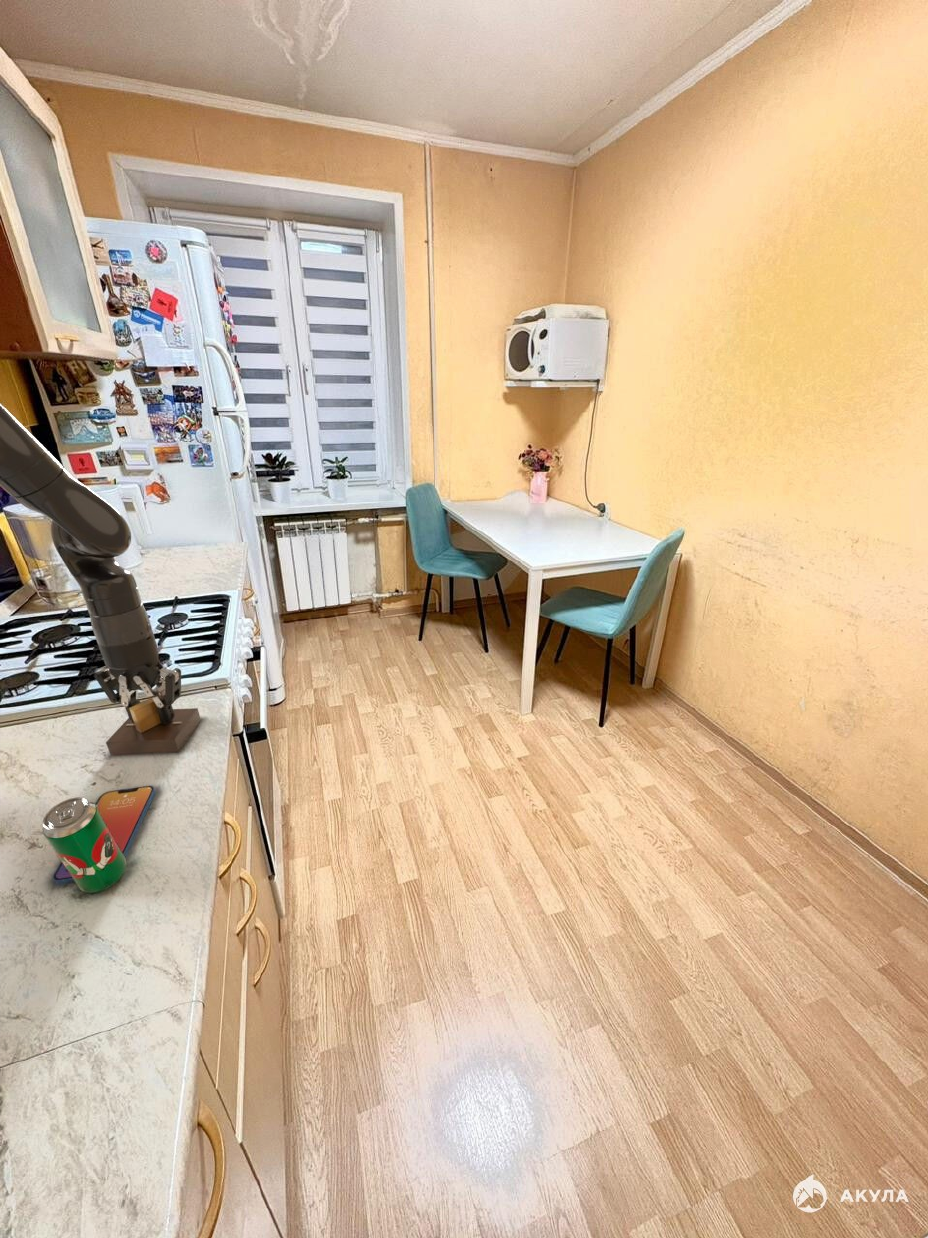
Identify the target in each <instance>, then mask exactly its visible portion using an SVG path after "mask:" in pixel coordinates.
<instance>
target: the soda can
mask: <svg viewBox="0 0 928 1238" xmlns="http://www.w3.org/2000/svg"><path fill="white" fill-rule="evenodd" d="M95 804H96V803H94V802H93V801H90V800H89V799H87V798H85V797H81V796H79V797H71V798H67V799H65V800H62V801H61V802H59V803H57V804H56V805H54V806H53V807H52V808H51V809H49V810H48V812H47V813H46V814H45V815H44V816H43V817H44V818H43V820H42V835H43V836H44V837H45V839H46V840H47V842H48V843H49V845H50V846H51V848H52V850H53V851H54V852H55V854H56V855H57V857H58V858H59V860H60V862H61V861H62V863H63V864H64V866H65V867H66V869H67V870H68V872H69V873H70V875H71V876H72V878H73V879H74V881H75V882H74V883H75V884H76V885H77V887H78V889H79V890H81V891H82V892H83V893H87V894H94V893H99V892H102V891H104V890H106V889H109V888H111V887H112V886H113V885H115V884H116V883H117V882H118V881H119V880H120V878H121V877H122V876H123V875H124V873H125V871H126V868H127V863H128V862H127V859H126V857H124V855H123V853H122V852H121V850H120V848H119V846H118V844H117V843H116V841H115V839H114V837H113V835H112V833H111V832H110V830H109V828H108V826H107V824H106V823H105V821H104V819H103V817H102V815H101V814H100V812H99V810H98V808H97V806H96V805H95Z"/></svg>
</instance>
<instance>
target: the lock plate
mask: <svg viewBox="0 0 928 1238" xmlns="http://www.w3.org/2000/svg"><path fill="white" fill-rule="evenodd" d="M173 711H174V718H173V719H172V721H171V722H170V723H169V724H168V725H162V724H161V723H160V724H158V725H156V726H154V727H152V728H150V729H148V730H146V731H144V732H143V733H141V732H139V731H137V730H136V727H135V724H133V723H132V721H131V720H130V719H129V717H128V718H127V719H126V720H125V721H124V722H123V723H122V724H121V725H120V726H119V727H118V729H117V730H116V731H115V732H114V733H113V734H112V735H111V736H110V737H109V738H108V740H107V741H105V744H106V747H107V749H108V752H109V755H110V756H127V755H128V756H129V755H130V756H131V755H149V754H151V755H153V754H171V753H172V754H173V753H180V752H181V750H182V748H183V747H184V745H185V744H186V743H187V741H188V740H189V738H190V737H191V735H192V734H193V732H194V731H195V730H196V728H197V727H198V726H199V724H200V723H201V721H202V719H201V715H200V712H199V708H198V707H191V708H173Z"/></svg>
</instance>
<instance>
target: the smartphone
mask: <svg viewBox="0 0 928 1238" xmlns="http://www.w3.org/2000/svg"><path fill="white" fill-rule="evenodd" d="M155 795H156V789H155V787H154V786H153V785H145V786H136V787H130V788H123V789H116V790H109V791H106V792H104V793H102V794H101V795H100V796H99V797H98V799H97V800H96V802H95V803H94V804H95V805H96V806H97V808H98V810H99V812H100V814H101V815H102V817H103V819H104V821H105V823H106V824H107V826H108V828H109V830H110V832H111V833H112V835H113V837H114V839H115V841H116V843H117V844H118V846H119V848H120V850H121V852H122V853H123V855H124V857H125V858H126V857H127V856H128V853H129V851H130V849H131V847H132V845H133V843H134V841H135V838H136V837H137V835H138V832H139V830H140V828H141V825H142V823H143V821H144V819H145V817H146V815H147V812H148V810H149V808H150V806H151V804H152V802H153V799H154V797H155ZM52 879H53V882H54V884H56V885H64V884H70V883H76V882H75V881H74V879H73V878H72V876H71V875H70V873H69V872H68V870H67V869H66V867H65V866H64V864H63V863H62V861H61V860H60V863H59V865H58V867H57V868H56V870H55V872H54V873H53V876H52Z"/></svg>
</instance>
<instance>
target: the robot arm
mask: <svg viewBox="0 0 928 1238" xmlns="http://www.w3.org/2000/svg"><path fill="white" fill-rule="evenodd" d="M0 487H1V488H2V489H3V490H4V491H5V492H7V494H9V495H10V496H11V497H12V498H13V499H15V500H16V501H17V502H18V503H19V504H20V505H22V506H23V507H25V508H27V509H29V510H30V511H33V512H36V513H39V514H42V515H43V516H46V517H47V518H49V520H51V522H50V535H51V540H52V543H53V546H54V548H55V551H57V554H58V555H59V557H60V558H61V560H62V562H63V563H64V565H65V567H66V568H67V570H68V571H69V572H70V574H71V576H72V577H73V579H74V580H75V581H76V583H77V584H78V586H79V588H80V590H81V594H82V597H83V600H84V603H85V606H86V608H87V611H88V614H89V618H90V624H91V625H90V626H91V629H92V631H93V634H94V637H95V639H96V643H97V645H98V648H99V651H100V654H101V656H102V659H103V662H104V665H105V666H104V667H102V668H101V669H99V670H98V671H97V672H95V673H94V674H93V677H94V679H95V680H96V681H97V684H98V685H99V687H100V688H101V690H103V692H104V694H105V695H106V697H107V698H108V700H109V702H111V703H112V704H117V703H119V704H121V706H123V707H124V708H125V711H126V713H127V716H128V718H129V719H130V720H131V721H132V723H133V724H134V721H133V718H132V715H131V712H130V709H129V708H131V707H133V706H135V705H137V704H139V703H141V701H140V699H138V697H139V691H142V692H143V693H144V695H146V697H147V698H148V699H150V698H152V700H153V701H154V703H155V704H156V705H157V711H158V715H159V718H160V721H161V724H162V725H168V724H169V723H170V722H171V721H172V719H173V718H174V711H173V709H174V708H173V704H174V703H175V702H176V701H177V700H178V699H180V698H181V696H182V670H181V669H180V668H178V667H175V668H174V669H170V668H169V669H168V668H165V667H164V665H163V664H162V663H161V661H160V659H159V651H160V650H159V647H158V643H157V640H156V638H155V637H156V636H155V634H154V630H153V627H152V624H151V620H150V618H149V617H150V616H149V615H148V612H147V610H146V608H145V606H144V604H143V601H142V598H141V595H140V590H139V587H138V585H137V580H136V578H135V577H134V575H133V573H132V572H131V571H130V570H128V569H127V568H125V567H124V566H122V565H120V564H119V563H118V562H117V561H116V558H117V557H119V556H122V555H123V554H125V553H126V552H127V551H128V550H129V548H130V546H131V544H132V532H131V528H130V526H129V524H128V522H127V520H126V519H125V518H124V516H123V515H122V514H121V513H120V512H119V511H118V510H117V509H116V508H115V507H114V506H112V505H111V504H110V503H108V501H106V500H105V499H104V498H102V497H101V496H100V495H98V494H97V493H95V492H94V491H93V490H92V489H90V488H89V487H88V486H86V485H85V484H84V483H82V482H81V481H79V480H78V479H76V478H75V477H74V476H73V475H71V473H70V472H69V471H68V470H67V469H66V468H65V467H64V465H62V463H61V462H60V461H59V460H58V459H57V458H56V457H55V456H54V455H53V454H52V453H51V452H50V451H49V450H48V448H46V447H45V446H44V445H43V444H42V443H41V442H40V441H39V440H38V439H37V437H35V436H34V435H33V434H32V433H31V432H30V431H29V429H27V428H26V427H25V426H24V425H23V424H22V423H21V422H20V421H19V420H18V419H17V418H16V417H15V416H14V415H13V414H12V413H11V412H10V411H9V410H8V409H7V408H6V407H5V406H4V405H3V404H2V403H1V402H0ZM114 690H115V691H114ZM159 694H160V695H161V696H162V698H161V697H160V696H159Z"/></svg>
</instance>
